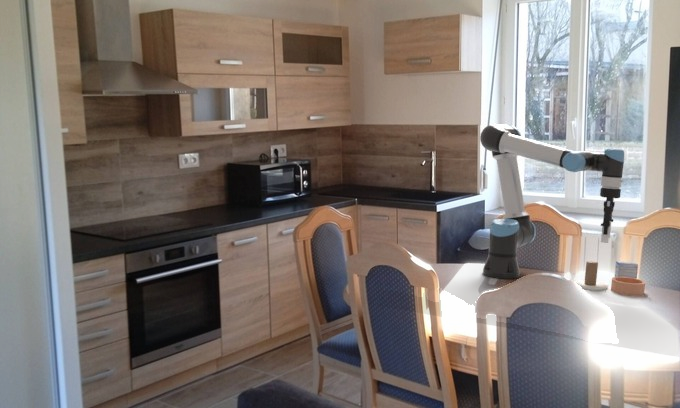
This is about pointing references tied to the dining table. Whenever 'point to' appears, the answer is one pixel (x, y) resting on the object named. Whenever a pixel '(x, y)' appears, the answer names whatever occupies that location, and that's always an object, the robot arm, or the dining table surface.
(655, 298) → the dining table surface
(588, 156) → the robot arm
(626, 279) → the bowl
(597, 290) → the trivet
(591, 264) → the lid
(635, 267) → the medicine box
